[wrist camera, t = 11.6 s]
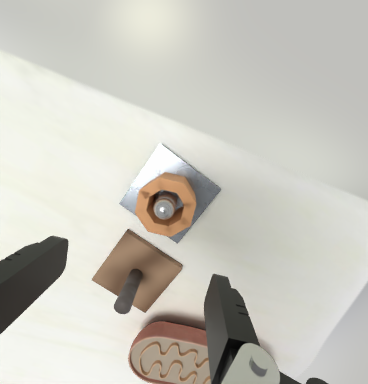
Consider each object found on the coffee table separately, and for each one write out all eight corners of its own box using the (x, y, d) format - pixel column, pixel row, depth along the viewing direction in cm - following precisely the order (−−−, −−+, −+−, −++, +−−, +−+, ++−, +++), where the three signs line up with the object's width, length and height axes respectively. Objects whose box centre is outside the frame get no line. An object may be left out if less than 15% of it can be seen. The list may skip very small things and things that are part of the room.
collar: (198, 180, 25) (200, 187, 20) (186, 223, 26) (186, 240, 21) (151, 168, 25) (142, 173, 20) (142, 213, 26) (131, 227, 21)
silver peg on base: (219, 187, 26) (231, 202, 19) (177, 240, 28) (174, 271, 21) (161, 144, 25) (149, 141, 18) (121, 201, 27) (96, 221, 20)
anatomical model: (130, 340, 33) (120, 374, 28) (148, 296, 31) (140, 324, 26) (249, 379, 34) (259, 417, 29) (274, 339, 32) (290, 374, 27)
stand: (182, 265, 29) (180, 300, 22) (146, 307, 31) (134, 352, 24) (128, 229, 28) (108, 255, 21) (94, 275, 30) (66, 313, 23)
